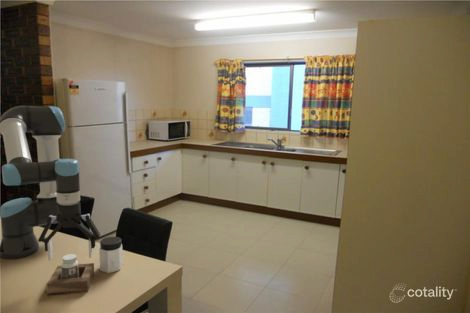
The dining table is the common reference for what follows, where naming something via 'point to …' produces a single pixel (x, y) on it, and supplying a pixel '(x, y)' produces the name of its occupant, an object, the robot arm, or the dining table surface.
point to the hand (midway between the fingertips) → (71, 257)
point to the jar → (110, 254)
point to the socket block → (71, 281)
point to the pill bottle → (70, 267)
